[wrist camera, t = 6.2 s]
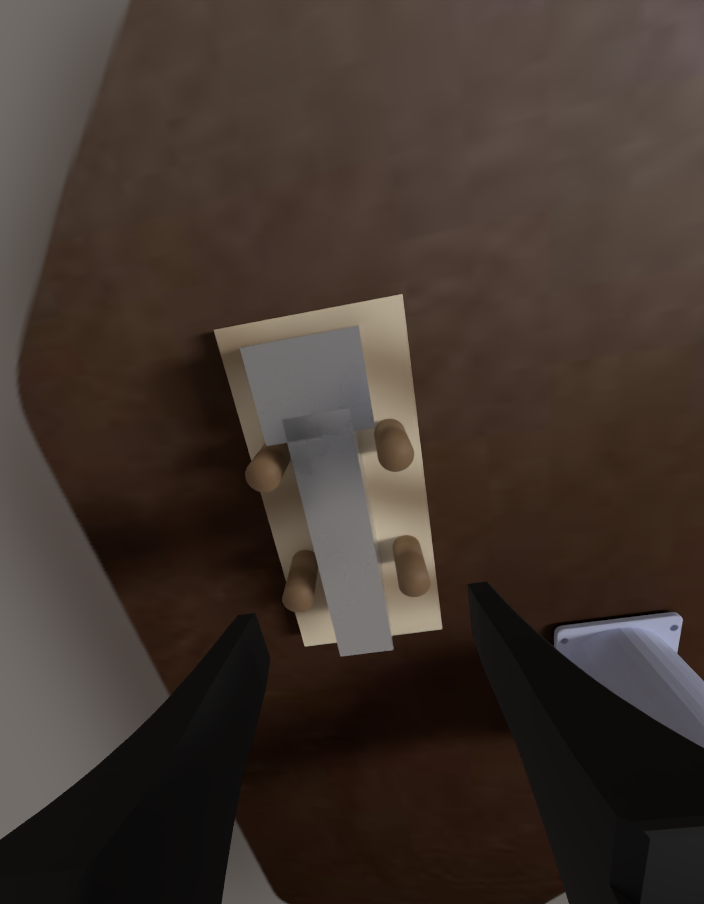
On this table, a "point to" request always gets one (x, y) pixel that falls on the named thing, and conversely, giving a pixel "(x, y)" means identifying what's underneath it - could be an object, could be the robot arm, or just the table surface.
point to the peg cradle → (385, 462)
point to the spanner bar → (328, 469)
